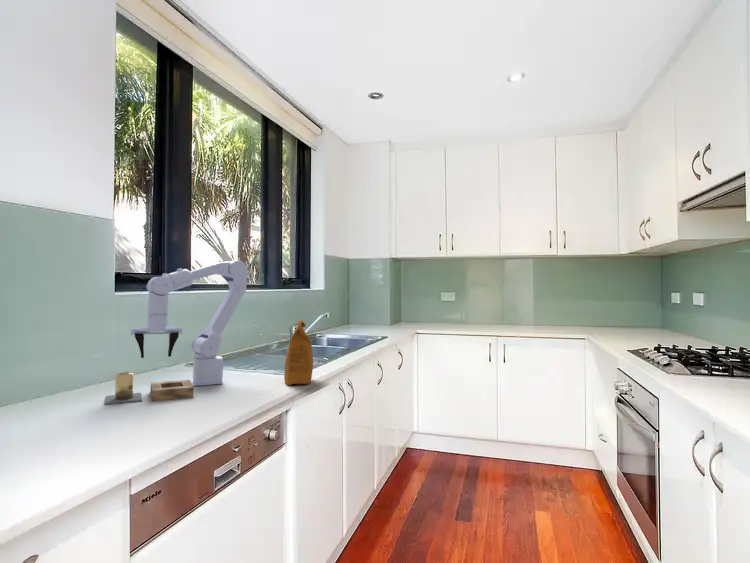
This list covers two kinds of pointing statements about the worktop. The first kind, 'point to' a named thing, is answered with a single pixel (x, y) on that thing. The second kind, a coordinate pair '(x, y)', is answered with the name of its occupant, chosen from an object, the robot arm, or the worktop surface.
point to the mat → (111, 400)
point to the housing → (171, 390)
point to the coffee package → (299, 358)
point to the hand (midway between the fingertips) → (156, 356)
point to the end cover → (124, 385)
